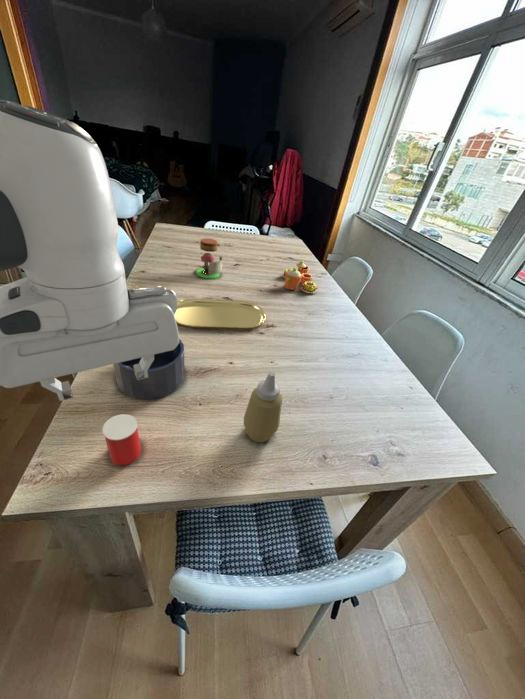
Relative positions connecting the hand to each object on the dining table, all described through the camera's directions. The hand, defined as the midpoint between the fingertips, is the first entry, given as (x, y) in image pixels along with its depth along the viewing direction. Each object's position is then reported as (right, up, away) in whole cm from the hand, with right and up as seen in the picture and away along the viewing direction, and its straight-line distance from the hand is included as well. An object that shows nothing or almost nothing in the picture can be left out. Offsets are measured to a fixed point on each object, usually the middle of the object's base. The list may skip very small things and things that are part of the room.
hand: (106, 385), depth 40 cm
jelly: (-6, -16, +18) cm, 25 cm away
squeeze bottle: (+21, -14, +27) cm, 37 cm away
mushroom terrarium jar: (-3, +39, +94) cm, 102 cm away
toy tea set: (+39, +37, +101) cm, 115 cm away
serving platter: (+6, +17, +66) cm, 68 cm away
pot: (-7, -2, +36) cm, 37 cm away
